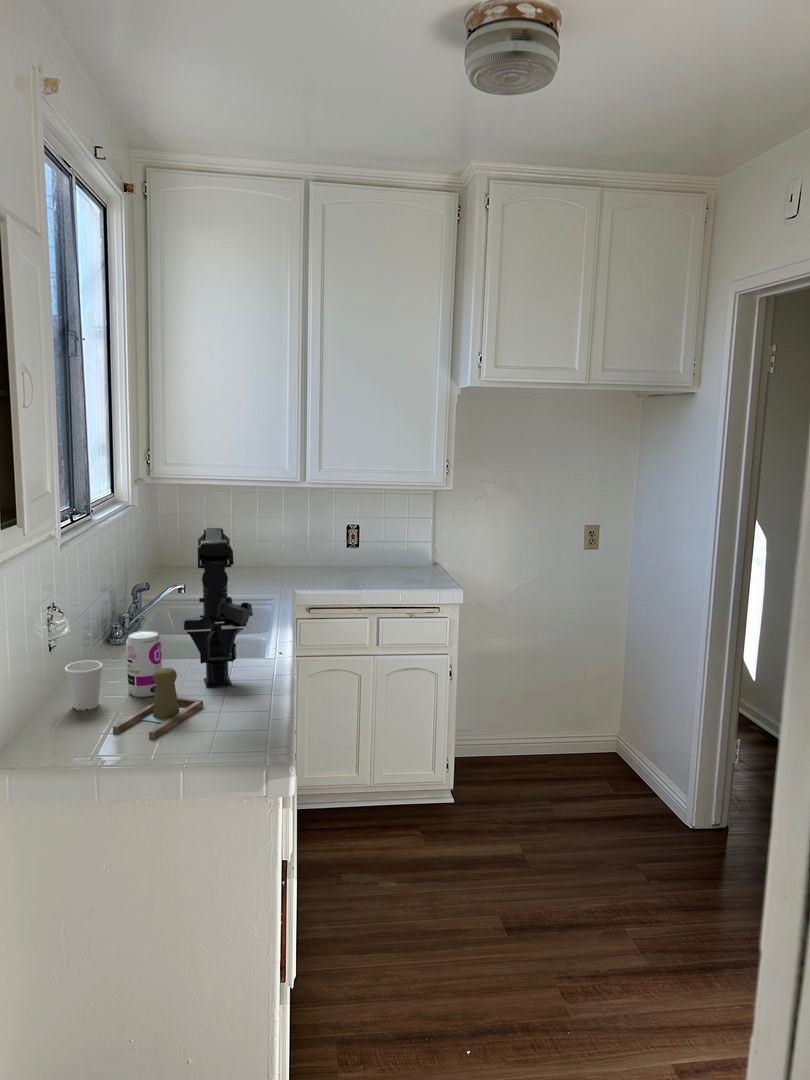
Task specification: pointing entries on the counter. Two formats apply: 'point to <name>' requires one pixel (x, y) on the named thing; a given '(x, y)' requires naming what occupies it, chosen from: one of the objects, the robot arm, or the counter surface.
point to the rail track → (147, 715)
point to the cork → (165, 694)
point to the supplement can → (143, 662)
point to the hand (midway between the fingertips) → (217, 659)
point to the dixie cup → (84, 683)
